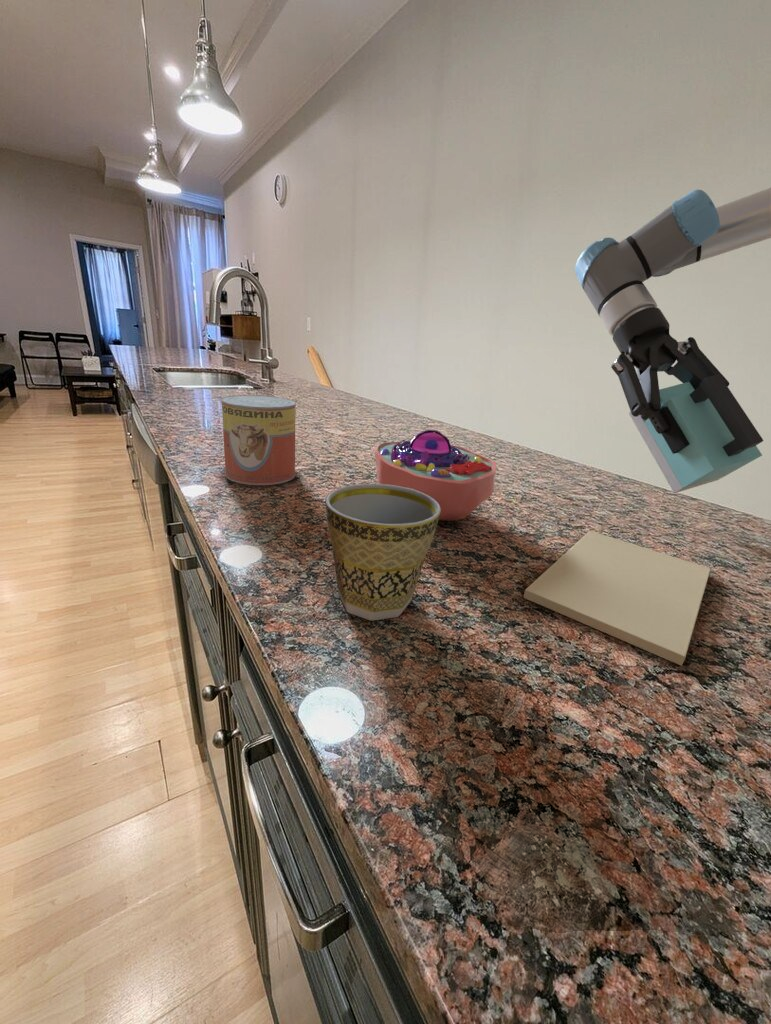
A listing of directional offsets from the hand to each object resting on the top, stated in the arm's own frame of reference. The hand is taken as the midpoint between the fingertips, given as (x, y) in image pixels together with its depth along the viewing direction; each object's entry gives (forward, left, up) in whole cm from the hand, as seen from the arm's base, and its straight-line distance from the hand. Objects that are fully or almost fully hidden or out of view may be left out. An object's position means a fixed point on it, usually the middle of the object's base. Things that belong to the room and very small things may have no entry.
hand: (706, 441), depth 66 cm
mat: (+18, +25, -13) cm, 33 cm away
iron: (+2, -6, -2) cm, 7 cm away
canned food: (+68, +2, -13) cm, 69 cm away
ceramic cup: (+44, +33, -13) cm, 56 cm away
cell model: (+40, +10, -13) cm, 43 cm away
